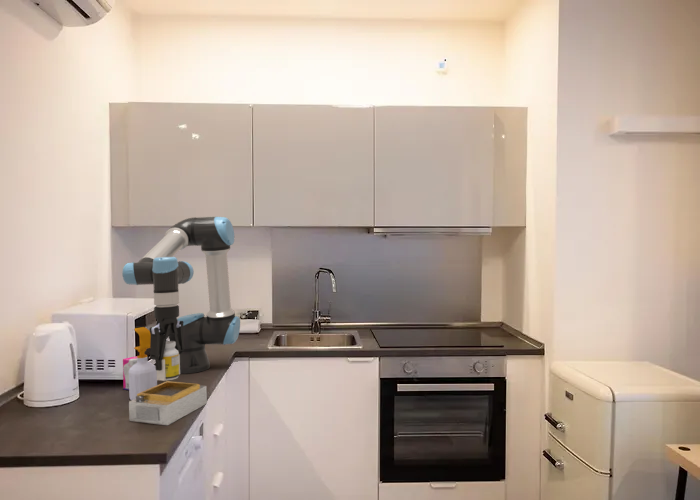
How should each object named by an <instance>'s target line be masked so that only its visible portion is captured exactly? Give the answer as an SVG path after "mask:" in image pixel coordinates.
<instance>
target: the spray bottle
mask: <svg viewBox="0 0 700 500" xmlns="http://www.w3.org/2000/svg"><path fill="white" fill-rule="evenodd" d="M133 330H134V331H135V333H136V334H138V336H139V346H134V347H133V349H134V350H136V351H137V352H138V353H139V355H137V363H136V364H134V365H133V366H132V367H131V368H130V369H129V390H128V391H129V392H128V394H129V395H128V396H129V399H130V400H129V401H131V400H134V399H136V396H137V394H138V393H140V392H143V391H145V390H147V389H150V388H152V387H154V386H157V385H158V380H157V370H156V364H154V363H152V362H150V361H148V354H146V351H147V349H150V341H151V334H150V329H148V328H147V327H146V326H142V327H135V328H134V329H133Z"/></svg>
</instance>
